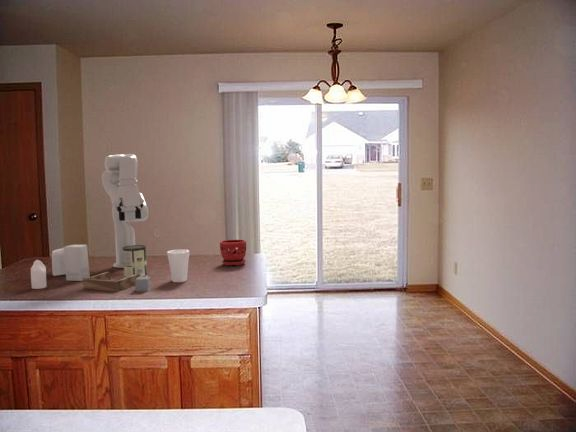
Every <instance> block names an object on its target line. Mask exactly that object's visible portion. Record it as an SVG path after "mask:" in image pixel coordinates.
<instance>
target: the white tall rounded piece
mask: <svg viewBox="0 0 576 432" xmlns="http://www.w3.org/2000/svg"><path fill="white" fill-rule="evenodd" d="M30 281H31V282H30V283H31V289H35V290H40V289H45V288H47V286H48V285H47V268H46V265H45V264H43V262H42V261H41V260H39V259H36V260H35V261H33V264H32V266H30Z"/></svg>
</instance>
